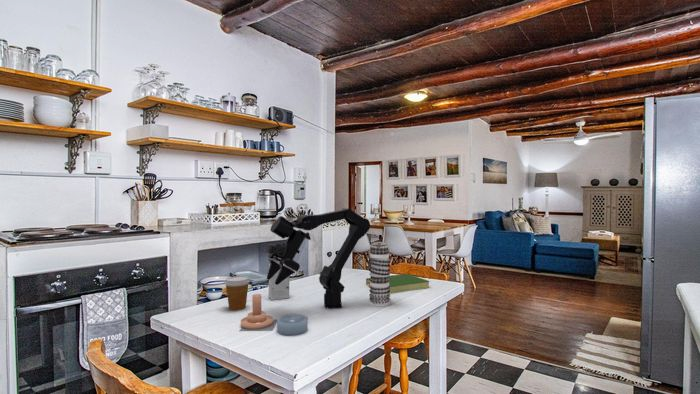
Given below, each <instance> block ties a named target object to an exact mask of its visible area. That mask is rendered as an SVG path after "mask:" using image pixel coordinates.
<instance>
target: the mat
mask: <svg viewBox="0 0 700 394" xmlns="http://www.w3.org/2000/svg"><path fill="white" fill-rule="evenodd" d="M277 319H278V318H276V319H274V318H273V325H271V326H270V327H267V328H264V329H258V330H248V329H244V328H242V327H241V328H240V329H239V332H271V331H273V330H274V329H275V327H276V326H277Z"/></svg>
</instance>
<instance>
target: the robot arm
mask: <svg viewBox="0 0 700 394" xmlns="http://www.w3.org/2000/svg"><path fill="white" fill-rule="evenodd" d="M342 220H344V221H346V223H347V224H348V225H349V227H348V235H347V236H346V238H345V240H344V242H343V244H342V245H341V247H340V249H339V250H338V252H337V254H336V255H335V257H334V258H333V260H332V261H331V262H332V263H331V264H330V265H328V266H327V265H324V266H323V268H322V269H321V271H320V272H319V277H318V281H319V283H320V285H321V286H322V288H323V290H325V292H324V293H323V294H324V295H323V306H324V307H325V309H326V308H327V309H330V308H333V309H334V308H342V293H343V292H344V290H345V286H344V284H343V283H341V282H340V281H341V278H342V271H343V269H344V267H345V265H346V263H347V261H348V259H349V257H350V255H351V254H352V252H353V250H354V249H355V247H356V245H357V243H358V242H359V240H360V239H362V238H363V237H364V236H365V235H366V234H367V233H368V232H369V230H370V229H371V223H370V222H371V221H370V220H369V219H368V218H366V217H362V216H361V215H359V213H358V214H357V213H356V212H355V211H354V210H352V209H350V208H342V209H338V210H334V211H329V212H324V213H319V214H301V215H299V216H297V218H296V219H294V220H292V221H289V220H288V219H286V218H285V217H284V216H282V215H279V217H278V218H277V219H276V220H274V222H272V225H271V227H270V232H272V233H273V234H275V235H277V236H278V237H280V238H281V239H286V241H285V242H282V243H276V242H274V244H272V243H266V248H265V253H268V256H267V257H268V259H267V260H268V262H269V264H270V267H269V266H268V271H267V277H266V280H268V281H269V280H270V279H271V278H272V277H273V276H274V275H275V274H276V273H277V272H278V271H279V270H280V272H279V274H278V276H277V279H276V281H275V284H276V285H278V284H279V283H281V282H282V281H283V280H284V279H286V278H287V277H289V276H290V277H291V275H293V274H295V273H297V272H298V271H299V270H300V268H301V266H300V263H299V262H297V261H295V260H294V259H295V256H296V255H297V254H299V253H300V252H301V251H300V248H301V246H302V245H303V243H304V241H305V239H306V240H308V241H311V239H312V238H311V235H310V232H304V231H311V230H314V229H316V228H319V227H320V226H321V225H325V224H328V223H332V222H338V221H342ZM296 229H298V230H296ZM303 230H304V231H303ZM283 264H284V265H283ZM290 277H289V278H290Z"/></svg>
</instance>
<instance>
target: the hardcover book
mask: <svg viewBox="0 0 700 394" xmlns="http://www.w3.org/2000/svg"><path fill="white" fill-rule="evenodd" d="M370 281H371V277H369V278H368V277H367V278H366V279H365V283H366V286H368V287H369V286H370ZM429 283H430V280H427V279H424V278H422V277H421V278H420V277H419V276H415V275H413V274H410V273H402V274H392V275H389V286H390V289H389V290H390V292H389V294H394V293H403V292H408V291H409V292H410V291H415V290H423V289H429V286H430V284H429Z"/></svg>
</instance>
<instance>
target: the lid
mask: <svg viewBox="0 0 700 394" xmlns="http://www.w3.org/2000/svg"><path fill="white" fill-rule="evenodd" d="M251 296H252V299H251V300H252V302H251V303H252V311H251V312H248V313H247V316H244V317H243V318H242V319H240V327H241V328H244V329H248V330H258V329H264V328H267V327H270V326H271V325H273V319H274V317H273V316H272V315H268V314H267V312H266V311H263V310H262V294H261V293H256V294H253V295H251Z"/></svg>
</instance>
